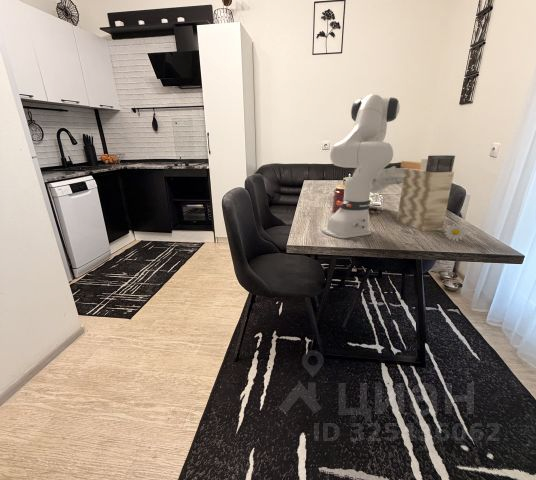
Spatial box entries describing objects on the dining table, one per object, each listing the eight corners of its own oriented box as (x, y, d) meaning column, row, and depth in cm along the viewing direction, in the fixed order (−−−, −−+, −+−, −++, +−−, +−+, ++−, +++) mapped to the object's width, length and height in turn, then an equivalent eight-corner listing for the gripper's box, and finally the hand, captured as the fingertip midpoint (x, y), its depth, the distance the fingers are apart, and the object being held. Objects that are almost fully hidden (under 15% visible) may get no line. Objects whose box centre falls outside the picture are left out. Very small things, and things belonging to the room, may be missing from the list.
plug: (398, 167, 144) (399, 157, 142) (408, 166, 145) (409, 156, 143) (432, 171, 122) (434, 159, 120) (444, 171, 123) (446, 159, 121)
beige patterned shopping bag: (397, 220, 145) (406, 154, 134) (414, 219, 146) (425, 153, 136) (423, 231, 127) (436, 156, 116) (442, 229, 129) (457, 155, 118)
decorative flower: (435, 215, 125) (467, 224, 112) (441, 223, 128) (473, 233, 115) (424, 228, 125) (454, 239, 112) (430, 236, 128) (460, 247, 115)
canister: (350, 208, 171) (352, 179, 165) (358, 214, 158) (361, 182, 153) (329, 209, 170) (331, 180, 164) (335, 214, 158) (337, 183, 152)
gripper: (369, 173, 156) (383, 162, 143) (402, 172, 160) (419, 161, 146) (371, 184, 155) (386, 173, 141) (404, 182, 159) (421, 172, 145)
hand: (403, 167), depth 144 cm, fingers open, 8 cm apart
